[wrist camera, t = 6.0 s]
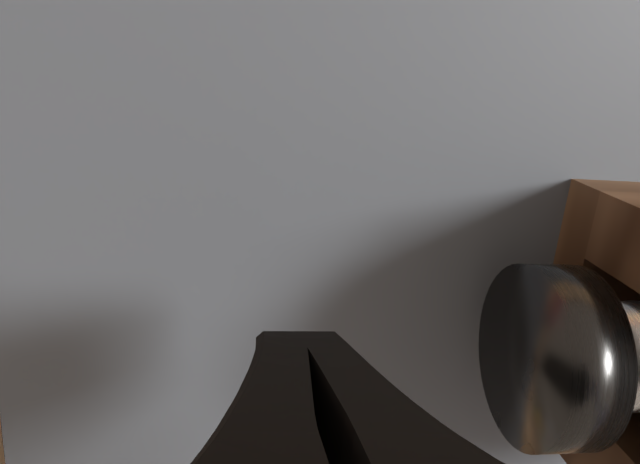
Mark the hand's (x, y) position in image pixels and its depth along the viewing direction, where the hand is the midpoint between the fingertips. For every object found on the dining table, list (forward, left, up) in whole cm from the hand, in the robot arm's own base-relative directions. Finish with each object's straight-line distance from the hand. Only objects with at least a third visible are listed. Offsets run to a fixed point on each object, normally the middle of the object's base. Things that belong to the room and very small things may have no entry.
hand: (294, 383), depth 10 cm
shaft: (0, -10, -3) cm, 10 cm away
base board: (0, -4, -4) cm, 6 cm away
